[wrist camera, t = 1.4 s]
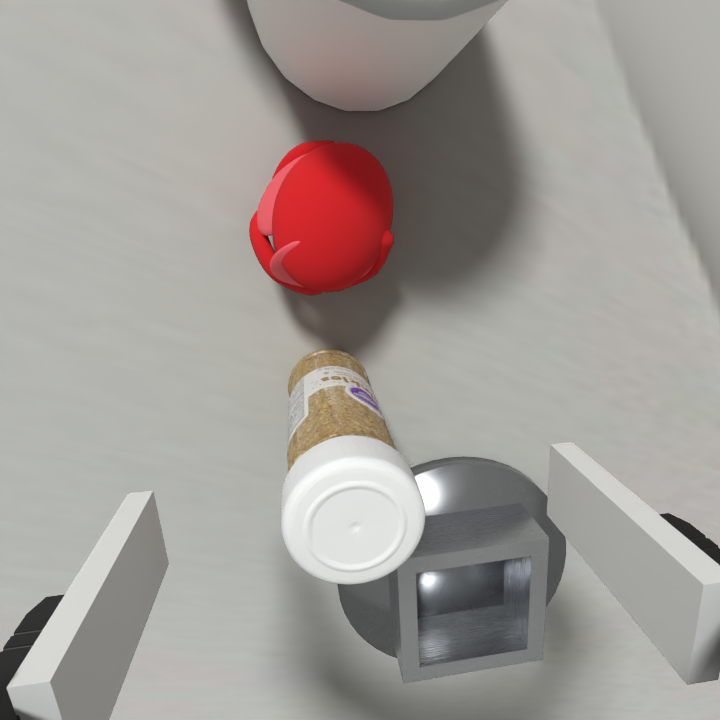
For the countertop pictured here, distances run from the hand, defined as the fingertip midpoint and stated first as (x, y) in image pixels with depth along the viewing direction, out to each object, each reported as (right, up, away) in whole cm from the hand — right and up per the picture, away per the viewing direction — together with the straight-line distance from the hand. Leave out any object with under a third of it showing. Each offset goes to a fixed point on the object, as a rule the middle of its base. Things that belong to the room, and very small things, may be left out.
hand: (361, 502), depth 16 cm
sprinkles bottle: (-2, +3, +12) cm, 12 cm away
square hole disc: (+6, -8, +16) cm, 19 cm away
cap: (-2, +12, +9) cm, 15 cm away
